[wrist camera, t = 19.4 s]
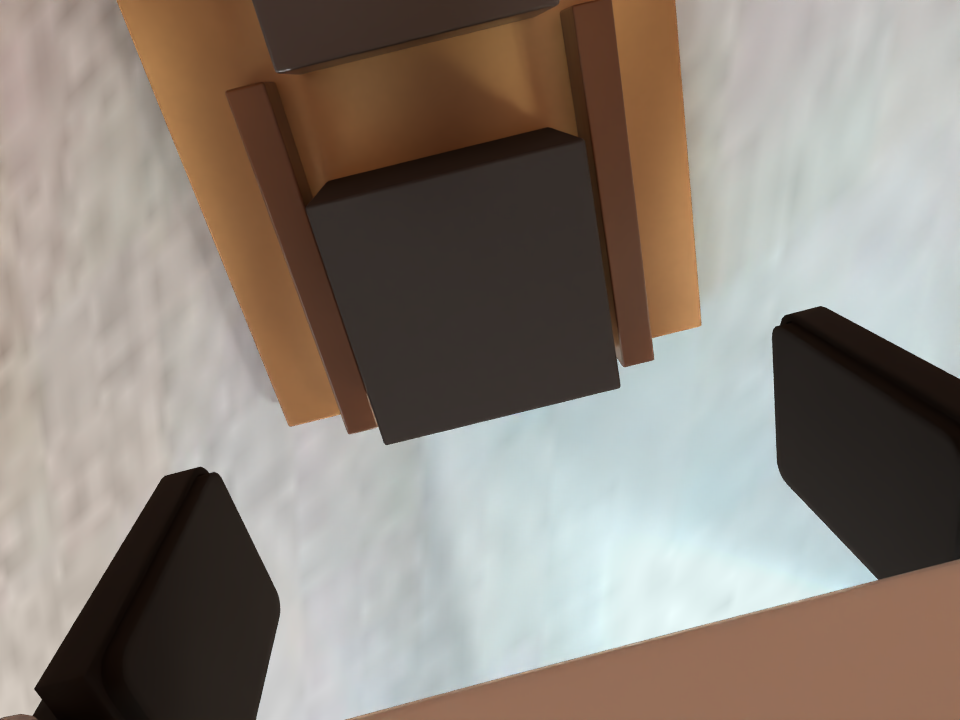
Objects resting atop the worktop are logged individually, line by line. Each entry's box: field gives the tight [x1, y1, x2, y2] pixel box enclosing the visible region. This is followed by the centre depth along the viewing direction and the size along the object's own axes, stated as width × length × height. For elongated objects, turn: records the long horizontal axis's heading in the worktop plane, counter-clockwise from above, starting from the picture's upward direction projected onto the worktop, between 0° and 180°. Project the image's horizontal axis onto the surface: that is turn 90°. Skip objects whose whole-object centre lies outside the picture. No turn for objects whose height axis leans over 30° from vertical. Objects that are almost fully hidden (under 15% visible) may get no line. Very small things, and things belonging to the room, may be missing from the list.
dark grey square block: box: [306, 127, 620, 445], centre depth 17 cm, size 6×6×4 cm
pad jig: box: [117, 0, 701, 434], centre depth 16 cm, size 14×19×4 cm
